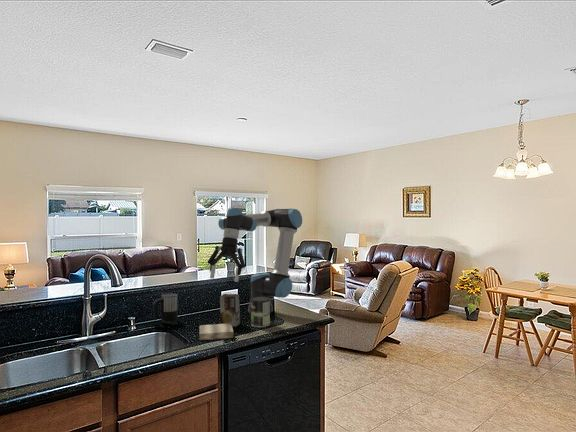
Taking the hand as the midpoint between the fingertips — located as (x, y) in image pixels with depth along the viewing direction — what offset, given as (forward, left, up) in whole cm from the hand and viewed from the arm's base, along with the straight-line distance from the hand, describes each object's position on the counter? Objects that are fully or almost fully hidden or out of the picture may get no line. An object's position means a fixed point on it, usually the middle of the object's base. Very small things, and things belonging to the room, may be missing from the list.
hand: (223, 280), depth 183 cm
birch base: (+4, -1, -27) cm, 27 cm away
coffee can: (-20, -12, -27) cm, 36 cm away
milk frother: (+28, -27, -27) cm, 48 cm away
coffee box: (-4, -16, -27) cm, 32 cm away
